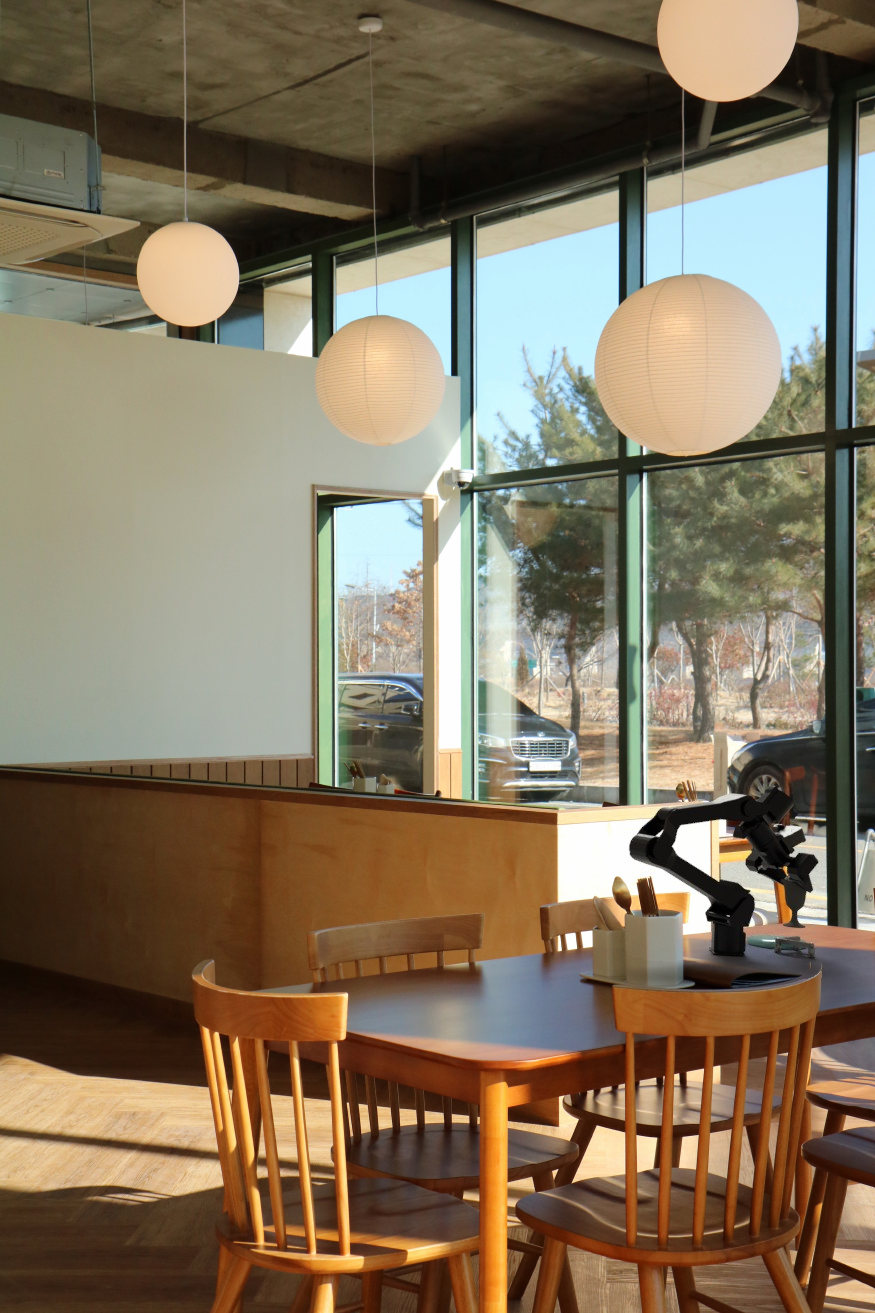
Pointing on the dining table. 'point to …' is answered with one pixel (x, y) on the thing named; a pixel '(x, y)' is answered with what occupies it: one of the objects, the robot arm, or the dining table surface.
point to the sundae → (793, 901)
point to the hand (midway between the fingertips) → (800, 889)
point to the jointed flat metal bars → (795, 945)
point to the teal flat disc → (767, 941)
